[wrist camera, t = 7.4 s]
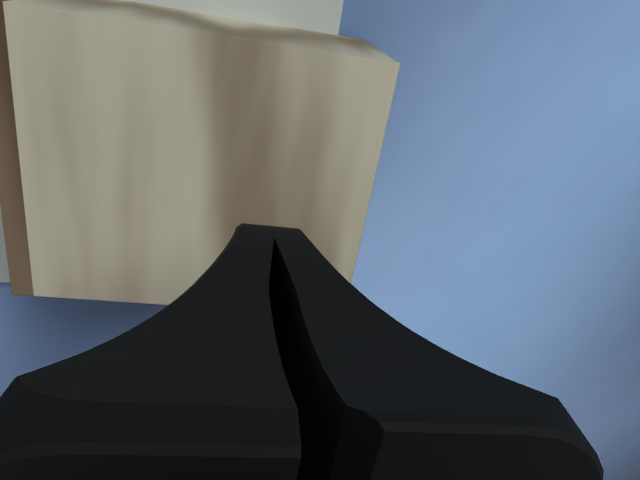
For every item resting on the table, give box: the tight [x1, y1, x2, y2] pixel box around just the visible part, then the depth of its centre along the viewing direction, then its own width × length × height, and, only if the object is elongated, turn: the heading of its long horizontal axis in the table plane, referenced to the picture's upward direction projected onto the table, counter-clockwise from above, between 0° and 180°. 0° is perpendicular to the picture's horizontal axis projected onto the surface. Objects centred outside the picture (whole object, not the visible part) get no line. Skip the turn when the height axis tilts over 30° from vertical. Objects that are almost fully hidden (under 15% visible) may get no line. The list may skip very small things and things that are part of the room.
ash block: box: [0, 0, 400, 305], centre depth 16 cm, size 5×8×10 cm
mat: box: [0, 0, 344, 283], centre depth 18 cm, size 13×14×1 cm
